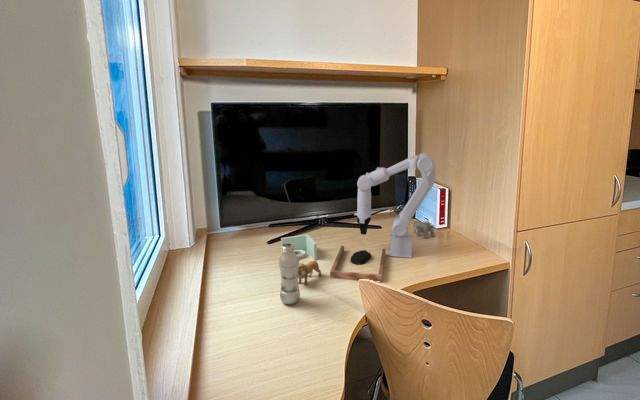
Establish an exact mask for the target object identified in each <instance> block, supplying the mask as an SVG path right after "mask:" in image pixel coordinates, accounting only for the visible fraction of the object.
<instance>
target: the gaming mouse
mask: <svg viewBox="0 0 640 400" xmlns="http://www.w3.org/2000/svg"><path fill="white" fill-rule="evenodd" d="M371 259H372V254H371V251H370V252H368V251H367V250H366V249H362V250H359V251H355V252H354V253H352V255H351V257H350V262H351V264H353V265H364V264H367V262H368V261H370V260H371Z"/></svg>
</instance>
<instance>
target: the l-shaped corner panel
mask: <svg viewBox="0 0 640 400" xmlns="http://www.w3.org/2000/svg"><path fill="white" fill-rule="evenodd" d="M280 243H281V245H280V247H282V245H283V244H286V243H291V244H293V245H294V253H295V254H296V255H297V257H298V259H299V260H303V259H305V258H306V257H307V256H306V255H307V254H306V253H308V255H310V257H311V258H312V260H313V261H318V252H317V251H318V249H317V247H318V246H317V243H316V242H315V240H314V239H313V238H312V236H310V235H309V234H300V235H294V236H286V237H281V238H280ZM282 253H283V252H282V251H281V254H282Z"/></svg>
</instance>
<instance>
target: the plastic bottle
mask: <svg viewBox="0 0 640 400" xmlns="http://www.w3.org/2000/svg"><path fill="white" fill-rule="evenodd" d="M282 252H283V253H282ZM297 255H298V254H295V253H294V245H293V244H291V243H286V244H283V245H282V246H281V255H280V257H279V258H278V267H279V270H280V280H281V281H280V282H281V283H280V291H279V297H280V301H281V302H282V304H285V305H295V304H297V303H298V302H299V300H300V298H301V292H300V288H299V287H300V286H299V284H298V282H299V278H298V266H299V264H300V259H298V257H297Z"/></svg>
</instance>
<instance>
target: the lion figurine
mask: <svg viewBox="0 0 640 400" xmlns="http://www.w3.org/2000/svg"><path fill="white" fill-rule="evenodd" d="M313 270H314V271H315V272H317V273H318V274H317V276H318V277H319V278H320V277H322V271H321V269H320V266H319V263H318V262H317V260H310V261H309V262H308V263H307V264H304V263H300V262H299V266H298V285H301V284H302V280H303V279H304V286H308V282H309V281H308V278H311V277H312V275H313V273H314V272H313Z"/></svg>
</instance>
